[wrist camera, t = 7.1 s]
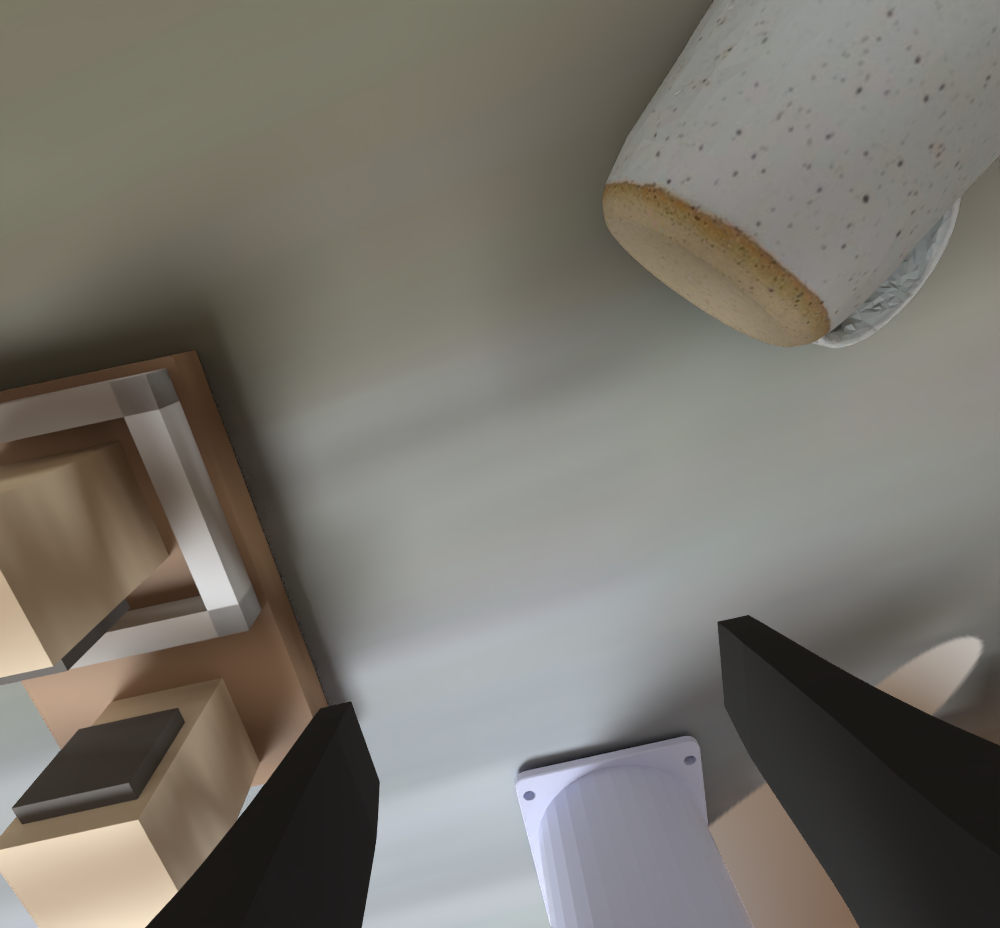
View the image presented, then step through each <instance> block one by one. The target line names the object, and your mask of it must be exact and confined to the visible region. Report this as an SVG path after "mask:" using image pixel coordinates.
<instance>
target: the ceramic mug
mask: <svg viewBox="0 0 1000 928" xmlns="http://www.w3.org/2000/svg"><path fill="white" fill-rule="evenodd" d="M999 156H1000V0H714V1H713V3H712V4H711V6H710V7H709V9H708V10H707V12H706V14H705V15H704V17H703V18H702V20H701V21H700V23H699V25H698V26H697V28H696V29H695V31H694V32H693V34H692V36H691V38H690V39H689V41H688V43H687V45H686V47H685V48H684V50H683V52H682V53H681V55H680V56H679V58H678V59H677V61H676V62H675V64H674V65H673V67H672V69H671V70H670V72H669V73H668V75H667V76H666V78H665V79H664V81H663V82H662V84H661V85H660V87H659V89H658V90H657V92H656V93H655V95H654V96H653V98H652V99H651V101H650V102H649V104H648V105H647V107H646V109H645V110H644V112H643V113H642V115H641V116H640V118H639V119H638V121H637V122H636V124H635V126H634V127H633V129H632V130H631V132H630V133H629V135H628V136H627V138H626V141H625V143H624V145H623V147H622V149H621V151H620V154H619V156H618V158H617V160H616V162H615V164H614V166H613V169H612V171H611V173H610V175H609V177H608V179H607V182H606V185H605V189H604V193H603V197H602V204H603V211H604V218H605V222H606V224H607V227H608V229H609V231H610V232H611V233H612V235H613V236H614V237H615V239H616V240H617V241H618V243H619V244H620V245H621V246H622V247H623V248H624V249H625V250H626V251H627V252H628V253H629V254H630V255H631V256H632V257H633V258H634V259H635V260H637V261H638V262H639V263H640V264H641V265H642V266H643V267H644V268H645V269H647V270H648V271H649V272H650V273H652V274H653V275H654V276H655V277H657V278H658V279H659V280H660V281H662V282H663V283H664V284H666V285H667V286H668V287H669V288H671V289H672V290H674V291H675V292H677V293H678V294H679V295H681V296H682V297H684V298H685V299H687V300H688V301H689V302H691V303H692V304H694V305H695V306H697V307H698V308H700V309H701V310H703V311H705V312H706V313H708V314H709V315H711V316H713V317H714V318H716V319H718V320H719V321H721V322H723V323H724V324H726V325H728V326H730V327H732V328H734V329H735V330H738V331H740V332H742V333H744V334H746V335H748V336H750V337H752V338H754V339H757V340H760V341H762V342H765V343H768V344H773V345H777V346H782V347H793V346H799V345H805V344H809V343H814V344H817V345H821V346H826V347H831V348H842V347H845V346H849V345H852V344H855V343H857V342H859V341H861V340H863V339H865V338H868V337H869V336H871V335H872V334H873V333H875V332H876V331H878V330H879V329H880V328H882V327H883V326H884V325H885V324H887V323H888V322H889V321H890V320H891V319H892V318H893V317H894V316H896V315H897V314H898V313H899V312H900V311H901V310H902V309H903V308H904V307H905V306H906V305H907V304H908V303H909V302H910V301H911V299H912V298H913V297H914V296H915V295H916V293H917V292H918V291H919V290H920V289H921V287H922V286H923V284H924V283H925V281H926V280H927V278H928V277H929V275H930V274H931V273H932V271H933V270H934V268H935V267H936V265H937V263H938V261H939V259H940V257H941V256H942V254H943V252H944V250H945V248H946V247H947V244H948V242H949V239H950V237H951V235H952V232H953V229H954V226H955V223H956V219H957V216H958V212H959V208H960V204H961V196H962V195H963V194H964V192H965V191H966V190H967V189H968V188H969V187H970V186H971V185H972V184H973V183H974V182H975V181H976V180H977V179H978V178H979V177H980V176H981V175H982V174H983V172H984V171H985V170H986V169H987V168H988V167H989V166H990V165H991V164H992V163H993V162H994V161H995V160H996V159H997V158H998V157H999Z"/></svg>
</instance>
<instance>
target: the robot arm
mask: <svg viewBox="0 0 1000 928" xmlns="http://www.w3.org/2000/svg"><path fill="white" fill-rule="evenodd" d="M718 633H719V645H720V656H721V668H722V680H723V691H724V703H725V708H726V710H727V712H728V714H729V716H730V718H731V720H732V722H733V724H734V726H735V728H736V730H737V732H738V734H739V736H740V738H741V740H742V742H743V743H744V745H745V747H746V749H747V751H748V753H749V755H750V757H751V758H752V760H753V762H754V763H755V765H756V766H757V768H758V769H759V771H760V773H761V774H762V776H763V777H764V779H765V780H766V782H767V783H768V785H769V786H770V788H771V789H772V791H773V792H774V794H775V795H776V797H777V798H778V800H779V802H780V803H781V805H782V806H783V808H784V809H785V811H786V812H787V814H788V815H789V817H790V818H791V820H792V821H793V823H794V824H795V826H796V827H797V829H798V830H799V832H800V833H801V835H802V836H803V838H804V839H805V841H806V842H807V844H808V845H809V847H810V848H811V850H812V851H813V853H814V854H815V856H816V857H817V859H818V860H819V862H820V863H821V865H822V866H823V868H824V869H825V871H826V873H827V874H828V876H829V877H830V879H831V880H832V882H833V883H834V885H835V887H836V888H837V890H838V892H839V893H840V895H841V896H842V898H843V900H844V901H845V903H846V904H847V906H848V908H849V909H850V911H851V913H852V915H853V917H854V918H855V920H856V922H857V924H858V926H859V927H860V928H1000V746H999V745H997V744H995V743H992V742H990V741H988V740H985V739H983V738H981V737H979V736H976V735H974V734H972V733H969V732H967V731H965V730H962V729H960V728H958V727H955V726H953V725H951V724H949V723H946V722H944V721H942V720H940V719H938V718H936V717H934V716H931V715H929V714H927V713H925V712H923V711H921V710H919V709H917V708H915V707H913V706H911V705H909V704H907V703H905V702H903V701H901V700H899V699H897V698H895V697H893V696H891V695H889V694H887V693H885V692H883V691H881V690H879V689H877V688H875V687H873V686H872V685H870V684H868V683H866V682H864V681H862V680H860V679H858V678H857V677H855V676H853V675H851V674H849V673H847V672H846V671H844V670H842V669H840V668H839V667H837V666H835V665H833V664H831V663H830V662H828V661H826V660H824V659H823V658H821V657H819V656H817V655H816V654H814V653H812V652H811V651H809V650H807V649H805V648H804V647H802V646H800V645H799V644H797V643H795V642H794V641H792V640H790V639H788V638H787V637H785V636H783V635H782V634H780V633H778V632H777V631H775V630H773V629H772V628H770V627H768V626H767V625H765V624H763V623H761V622H760V621H758V620H756V619H754V618H753V617H751V616H749V615H747V616H742V617H738V618H733V619H729V620H724V621H719V622H718ZM688 756H690V757H688ZM686 757H687V758H686ZM379 784H380V782H379V779H378V776H377V773H376V770H375V767H374V765H373V762H372V759H371V756H370V753H369V751H368V748H367V745H366V742H365V739H364V737H363V734H362V731H361V728H360V725H359V722H358V720H357V717H356V714H355V711H354V708H353V706H352V703H351V702H347V703H342V704H338V705H333V706H329V707H324V708H320V709H319V710H318V712H317V713H316V714H315V716H314V717H313V718H312V720H311V721H310V722H309V724H308V725H307V727H306V728H305V729H304V731H303V732H302V734H301V735H300V736H299V738H298V739H297V741H296V742H295V743H294V745H293V746H292V748H291V749H290V750H289V752H288V753H287V754H286V756H285V757H284V759H283V760H282V761H281V763H280V764H279V766H278V767H277V768H276V770H275V771H274V772H273V774H272V775H271V776H270V778H269V779H268V780H267V782H266V783H265V784H264V786H263V787H262V788H261V790H260V791H259V793H258V794H257V795H256V797H255V798H254V799H253V801H252V802H251V803H250V805H249V806H248V807H247V808H246V810H245V811H244V812H243V813H242V815H241V816H240V817H239V818H238V820H237V821H236V822H235V823H234V825H233V826H232V827H231V828H230V830H229V831H228V832H227V833H226V835H225V836H224V837H223V838H222V840H221V841H220V842H219V843H218V845H217V846H216V847H215V848H214V850H213V851H212V852H211V853H210V855H209V856H208V857H207V858H206V860H205V861H204V862H203V863H202V864H201V866H200V867H199V868H198V869H197V870H196V871H195V873H194V874H193V875H192V876H191V877H190V878H189V880H188V881H187V882H186V883H185V884H184V885H183V886H182V887H181V889H180V890H179V891H178V892H177V893H176V894H175V895H174V897H173V898H172V899H171V900H170V901H169V902H168V903H167V904H166V905H165V906H164V907H163V909H162V910H161V911H160V912H159V913H158V914H157V915H156V916H155V917H154V918H153V919H152V920H151V922H150V923H149V924H148V925H147V926H146V927H145V928H362V922H363V916H364V911H365V905H366V899H367V893H368V888H369V882H370V876H371V870H372V864H373V858H374V851H375V845H376V837H377V823H378V805H379ZM515 787H516V792H517V796H518V800H519V804H520V808H521V812H522V816H523V820H524V824H525V828H526V831H527V835H528V839H529V843H530V847H531V851H532V855H533V859H534V863H535V867H536V871H537V875H538V879H539V883H540V887H541V891H542V895H543V899H544V903H545V907H546V911H547V915H548V918H549V922H550V924H551V928H754V926H753V924H752V922H751V920H750V918H749V915H748V913H747V911H746V909H745V907H744V905H743V902H742V900H741V898H740V896H739V894H738V892H737V890H736V887H735V885H734V883H733V881H732V879H731V876H730V874H729V872H728V870H727V868H726V866H725V863H724V861H723V859H722V857H721V855H720V852H719V850H718V848H717V846H716V844H715V842H714V839H713V837H712V835H711V833H710V831H709V827H708V818H707V809H706V800H705V790H704V781H703V772H702V763H701V753H700V747H699V744H698V743H697V741H696V739H695V738H694V737H691V736H682V737H678V738H673V739H669V740H664V741H660V742H655V743H651V744H646V745H641V746H637V747H632V748H628V749H623V750H619V751H614V752H609V753H605V754H600V755H596V756H591V757H587V758H582V759H578V760H573V761H568V762H564V763H559V764H555V765H550V766H546V767H541V768H536V769H532V770H527V771H523V772H521V773H519V774H518V775H517V776H516V778H515ZM527 791H531V792H527Z"/></svg>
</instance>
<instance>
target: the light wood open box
mask: <svg viewBox="0 0 1000 928" xmlns="http://www.w3.org/2000/svg"><path fill="white" fill-rule="evenodd" d="M115 441H119V442H120V444H121V446H122V448H123V451H124V453H125V455H126V458H127V460H128V462H129V465H130V467H131V469H132V472H133V474H134V476H135V478H136V481H137V483H138V485H139V488H140V490H141V492H142V495H143V497H144V499H145V501H146V504H147V506H148V508H149V511H150V513H151V515H152V518H153V520H154V522H155V525H156V527H157V529H158V531H159V534H160V536H161V538H162V541H163V543H164V545H165V548H166V550H167V552H168V554H169V557H168V558H167V559H166V560H165V561H164V562H163V563H162V564H160V565H159V566H158V567H157V568H156V569H155V570H154V571H153V572H152V573H151V574H150V575H149V576H148V577H147V578H146V579H145V580H144V581H143V582H142V583H141V584H139V585H138V586H137V587H136V588H135V589H134V590H133V591H132V592H131V593H130V594H129V595H128V596H127V597H126V600H127V602H128V604H129V606H130V609H129V610H128V611H127V612H126V613H125V614H124V615H123V616H122V617H121V618H120V619H119V620H118V621H117V622H116V623H115V624H114V625H113V626H112V627H111V628H110V629H109V630H108V631H107V632H106V633H105V634H104V635H103V636H102V637H101V638H100V639H99V640H98V641H97V642H96V643H95V644H94V645H93V646H92V647H91V648H90V649H89V650H88V651H87V652H86V653H85V654H84V655H83V656H82V657H81V658H80V659H79V660H78V661H77V662H76V663H75V664H74V665H73V666H72V667H71V668H70V669H69V670H68V671H65V672H61V673H56V674H51V675H46V676H42V677H37V678H32V679H27V680H23V681H21V682H22V684H23V685H24V687H25V689H26V691H27V692H28V694H29V696H30V697H31V699H32V701H33V702H34V704H35V706H36V708H37V709H38V711H39V713H40V714H41V716H42V718H43V720H44V721H45V723H46V725H47V726H48V728H49V730H50V732H51V733H52V735H53V737H54V738H55V740H56V742H57V744H58V745H59V747H60V749H61V751H60V752H59V753H58V754H57V755H56V757H55V758H54V759H53V760H52V761H51V762H50V764H49V765H48V766H47V767H46V768H45V770H44V771H43V772H42V773H41V774H40V775H39V777H38V778H37V779H36V780H35V781H34V783H33V784H32V785H31V786H30V787H29V788H28V790H27V791H26V792H25V793H24V794H23V796H22V797H21V798H20V799H19V800H18V801H17V803H16V804H15V805H14V806H13V807H12V810H13V811H14V813H15V815H16V816H17V817H16V818H15V819H14V821H13V822H12V823H11V824H10V825H9V827H8V828H7V829H6V830H5V831H4V833H3V834H2V835H1V836H0V872H1V874H2V875H3V877H4V878H5V879H6V881H7V882H8V884H9V885H10V887H11V888H12V890H13V891H14V892H15V894H16V895H17V897H18V898H19V900H20V901H21V903H22V904H23V905H24V907H25V908H26V910H27V911H28V913H29V914H30V915H31V917H32V918H33V920H34V921H35V923H36V924H37V926H38V927H39V928H145V927H146V926H147V925H148V924H149V923H150V922H151V920H152V919H153V918H154V917H155V916H156V915H157V914H158V913H159V912H160V911H161V910H162V909H163V907H164V906H165V905H166V904H167V903H168V902H169V901H170V900H171V899H172V898H173V897H174V895H175V894H176V893H177V892H178V891H179V890H180V889H181V887H182V886H183V885H184V884H185V883H186V882H187V881H188V880H189V878H190V877H191V876H192V875H193V874H194V873H195V871H196V870H197V869H198V868H199V867H200V866H201V864H202V863H203V862H204V861H205V860H206V858H207V857H208V856H209V855H210V853H211V852H212V851H213V850H214V848H215V847H216V846H217V845H218V843H219V842H220V841H221V840H222V838H223V837H224V836H225V835H226V833H227V832H228V831H229V830H230V828H231V827H232V826H233V825H234V823H235V822H236V821H237V818H238V816H239V813H240V811H241V808H242V806H243V804H244V801H245V799H246V796H247V794H248V791H249V789H250V787H252V786H257V785H261V784H265V783H266V782H267V780H268V779H269V778H270V776H271V775H272V774H273V772H274V771H275V770H276V768H277V767H278V766H279V764H280V763H281V761H282V760H283V759H284V757H285V756H286V754H287V753H288V752H289V750H290V749H291V748H292V746H293V745H294V743H295V742H296V741H297V739H298V738H299V736H300V735H301V734H302V732H303V731H304V729H305V728H306V727H307V725H308V724H309V722H310V721H311V720H312V718H313V717H314V716H315V714H316V713H317V712H318V710H319V709H320V708H324V707H329V706H328V704H327V701H326V698H325V696H324V693H323V690H322V688H321V685H320V682H319V679H318V677H317V674H316V671H315V669H314V666H313V663H312V661H311V658H310V655H309V653H308V650H307V647H306V645H305V642H304V639H303V637H302V634H301V631H300V629H299V626H298V623H297V621H296V618H295V615H294V613H293V610H292V607H291V604H290V602H289V599H288V596H287V594H286V591H285V588H284V586H283V583H282V580H281V578H280V575H279V572H278V570H277V567H276V564H275V562H274V559H273V556H272V554H271V551H270V548H269V546H268V543H267V540H266V538H265V535H264V532H263V529H262V527H261V524H260V521H259V519H258V516H257V513H256V511H255V508H254V505H253V503H252V500H251V497H250V495H249V492H248V489H247V487H246V484H245V481H244V479H243V476H242V473H241V471H240V468H239V465H238V462H237V460H236V457H235V454H234V452H233V449H232V446H231V444H230V441H229V438H228V436H227V433H226V430H225V428H224V425H223V422H222V420H221V417H220V414H219V412H218V409H217V406H216V404H215V401H214V398H213V396H212V393H211V390H210V387H209V385H208V382H207V379H206V377H205V374H204V371H203V369H202V366H201V363H200V361H199V358H198V355H197V353H196V350H193V351H188V352H183V353H179V354H174V355H169V356H164V357H160V358H155V359H150V360H146V361H141V362H136V363H131V364H127V365H122V366H117V367H113V368H108V369H103V370H98V371H94V372H89V373H84V374H80V375H75V376H70V377H65V378H61V379H56V380H51V381H47V382H42V383H37V384H32V385H28V386H23V387H18V388H14V389H9V390H4V391H0V465H4V464H9V463H14V462H19V461H24V460H28V459H33V458H38V457H43V456H48V455H53V454H57V453H62V452H67V451H72V450H77V449H81V448H86V447H91V446H96V445H101V444H106V443H110V442H115Z"/></svg>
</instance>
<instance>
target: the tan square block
mask: <svg viewBox="0 0 1000 928" xmlns="http://www.w3.org/2000/svg"><path fill="white" fill-rule="evenodd" d="M168 557H169V554H168V552H167V550H166V548H165V545H164V543H163V541H162V538H161V536H160V534H159V531H158V529H157V527H156V525H155V522H154V520H153V518H152V515H151V513H150V511H149V508H148V506H147V504H146V501H145V499H144V497H143V495H142V492H141V490H140V488H139V485H138V483H137V481H136V478H135V476H134V474H133V472H132V469H131V467H130V465H129V462H128V460H127V458H126V455H125V453H124V451H123V448H122V446H121V444H120V442H119V441H115V442H110V443H106V444H101V445H96V446H91V447H86V448H81V449H77V450H72V451H67V452H62V453H57V454H53V455H48V456H43V457H38V458H33V459H28V460H24V461H19V462H14V463H9V464H4V465H0V685H4V684H9V683H13V682H18V681H23V680H27V679H32V678H37V677H42V676H46V675H51V674H56V673H61V672H65V671H68V670H69V669H70V668H71V667H72V666H73V665H74V664H75V663H76V662H77V661H78V660H79V659H80V658H81V657H82V656H83V655H84V654H85V653H86V652H87V651H88V650H89V649H90V648H91V647H92V646H93V645H94V644H95V643H96V642H97V641H98V640H99V639H100V638H101V637H102V636H103V635H104V634H105V633H106V632H107V631H108V630H109V629H110V628H111V627H112V626H113V625H114V624H115V623H116V622H117V621H118V620H119V619H120V618H121V617H122V616H123V615H124V614H125V613H126V612H127V611H128V610H129V609H130V606H129V604H128V602H127V600H126V597H127V596H128V595H129V594H130V593H131V592H132V591H133V590H134V589H135V588H136V587H137V586H138V585H139V584H141V583H142V582H143V581H144V580H145V579H146V578H147V577H148V576H149V575H150V574H151V573H152V572H153V571H154V570H155V569H156V568H157V567H158V566H159V565H160V564H162V563H163V562H164V561H165V560H166V559H167V558H168Z"/></svg>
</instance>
